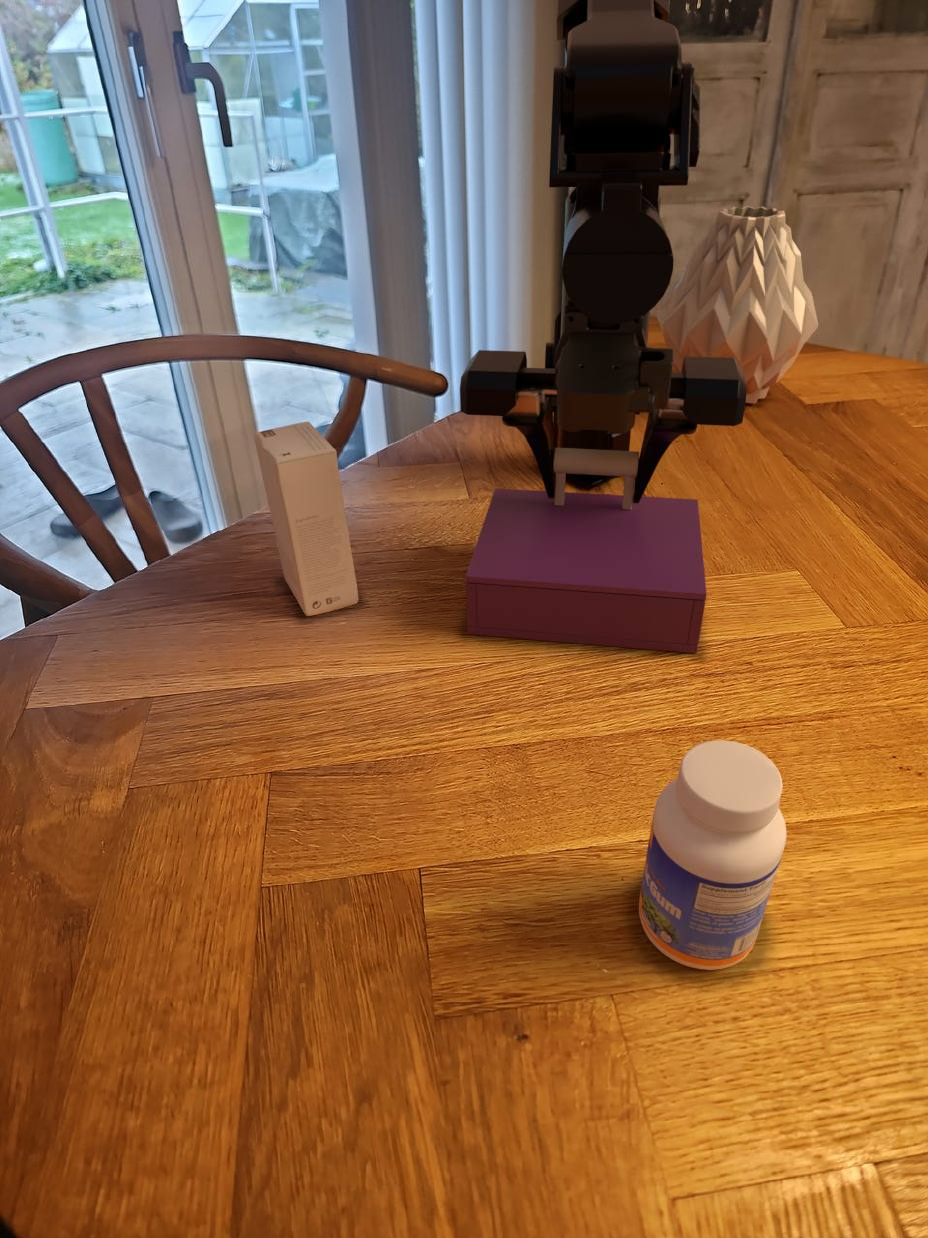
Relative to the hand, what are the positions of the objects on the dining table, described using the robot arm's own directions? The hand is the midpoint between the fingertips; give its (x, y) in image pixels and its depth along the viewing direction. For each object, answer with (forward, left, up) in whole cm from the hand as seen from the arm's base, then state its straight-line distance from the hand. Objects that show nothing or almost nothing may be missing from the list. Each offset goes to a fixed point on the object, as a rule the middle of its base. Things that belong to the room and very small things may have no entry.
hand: (593, 498), depth 63 cm
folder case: (+3, -4, -5) cm, 7 cm away
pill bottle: (+25, -21, -6) cm, 33 cm away
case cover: (+3, -4, -1) cm, 5 cm away
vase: (-13, +37, -6) cm, 40 cm away
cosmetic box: (-11, -18, -6) cm, 22 cm away
